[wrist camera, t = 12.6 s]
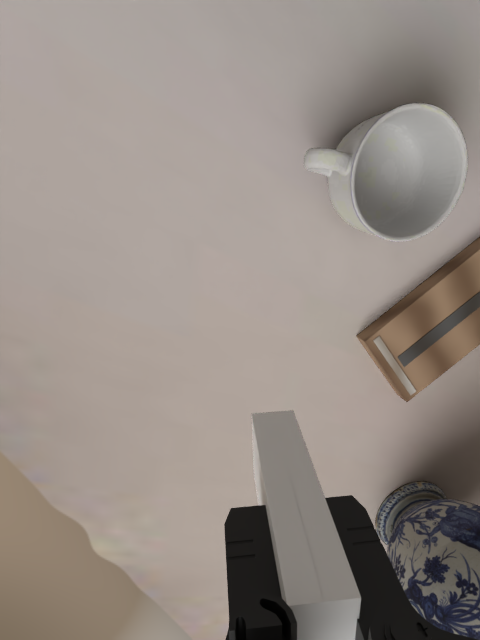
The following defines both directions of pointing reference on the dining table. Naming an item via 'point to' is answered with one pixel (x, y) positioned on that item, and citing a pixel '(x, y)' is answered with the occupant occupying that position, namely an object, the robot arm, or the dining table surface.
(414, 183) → the teacup
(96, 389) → the dining table surface
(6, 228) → the dining table surface
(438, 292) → the fader track
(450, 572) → the decorative vase
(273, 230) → the dining table surface
